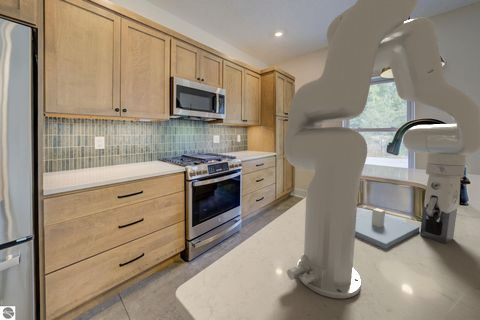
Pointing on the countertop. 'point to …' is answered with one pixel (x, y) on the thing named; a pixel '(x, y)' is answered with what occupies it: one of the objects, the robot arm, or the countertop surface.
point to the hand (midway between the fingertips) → (437, 230)
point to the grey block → (447, 226)
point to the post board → (382, 229)
